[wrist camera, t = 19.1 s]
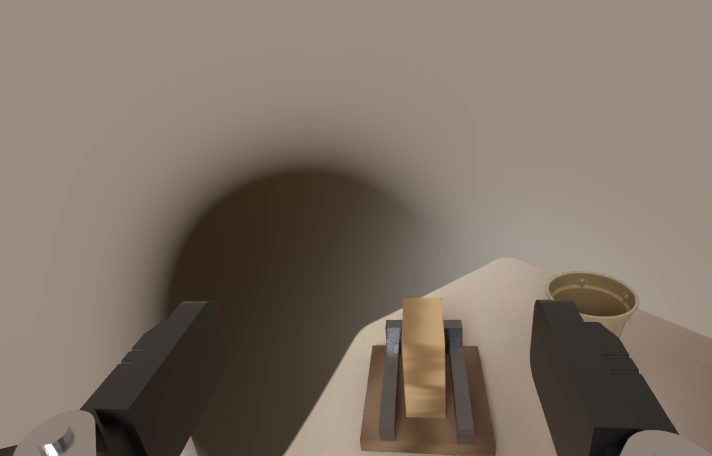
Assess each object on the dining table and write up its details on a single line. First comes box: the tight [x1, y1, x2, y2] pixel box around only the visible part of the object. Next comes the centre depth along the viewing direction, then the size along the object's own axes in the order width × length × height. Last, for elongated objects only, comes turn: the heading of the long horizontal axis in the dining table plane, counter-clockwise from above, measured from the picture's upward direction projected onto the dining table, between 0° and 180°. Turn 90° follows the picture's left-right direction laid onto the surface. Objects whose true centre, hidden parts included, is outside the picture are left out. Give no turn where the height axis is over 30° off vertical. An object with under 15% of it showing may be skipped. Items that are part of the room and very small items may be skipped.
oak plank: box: [401, 298, 446, 419], centre depth 46 cm, size 4×7×10 cm, turn 173°
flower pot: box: [546, 271, 639, 338], centre depth 52 cm, size 9×9×9 cm
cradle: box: [360, 320, 496, 456], centre depth 48 cm, size 13×14×6 cm
